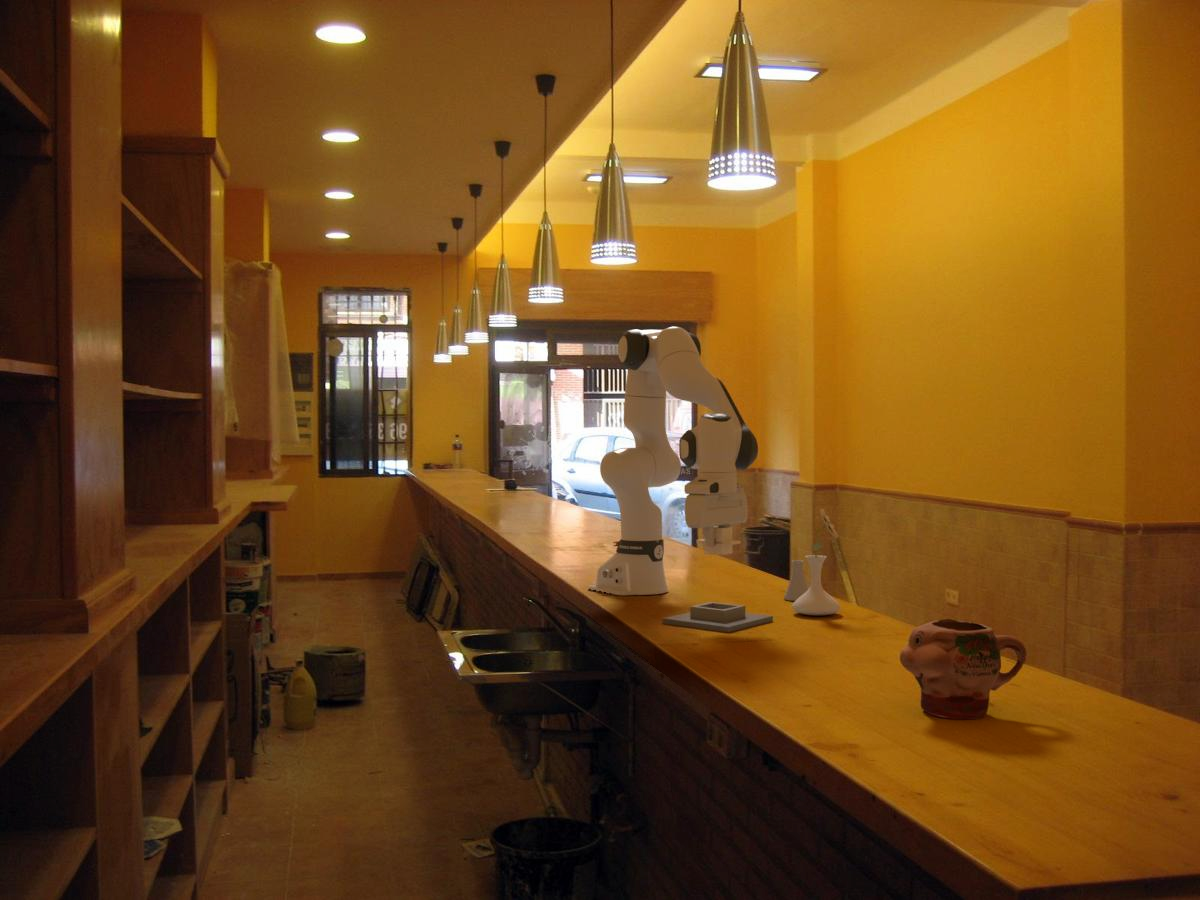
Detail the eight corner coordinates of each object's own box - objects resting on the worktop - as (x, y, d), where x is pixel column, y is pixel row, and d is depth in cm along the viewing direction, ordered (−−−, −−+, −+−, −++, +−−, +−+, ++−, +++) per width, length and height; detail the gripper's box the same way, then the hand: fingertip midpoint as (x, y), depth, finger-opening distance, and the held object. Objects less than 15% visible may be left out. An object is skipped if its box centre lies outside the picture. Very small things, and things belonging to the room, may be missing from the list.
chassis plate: (662, 623, 260) (662, 607, 259) (708, 613, 273) (708, 597, 273) (728, 632, 248) (728, 615, 248) (772, 621, 261) (772, 605, 261)
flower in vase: (827, 620, 262) (827, 511, 262) (783, 615, 269) (782, 509, 268) (851, 612, 273) (851, 508, 272) (808, 608, 279) (808, 506, 279)
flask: (814, 602, 289) (814, 562, 289) (785, 602, 289) (785, 562, 289) (809, 597, 296) (809, 559, 296) (781, 597, 296) (781, 559, 296)
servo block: (696, 553, 261) (696, 525, 261) (706, 551, 264) (706, 524, 264) (730, 555, 255) (730, 527, 255) (740, 553, 258) (740, 525, 258)
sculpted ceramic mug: (1003, 699, 187) (1003, 615, 186) (1043, 719, 175) (1043, 628, 174) (887, 705, 184) (887, 619, 183) (920, 725, 171) (920, 633, 171)
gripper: (731, 482, 270) (732, 540, 270) (679, 486, 254) (680, 548, 254) (754, 482, 265) (754, 542, 266) (702, 487, 250) (703, 550, 250)
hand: (718, 545), depth 260 cm, fingers closed on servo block, 4 cm apart
